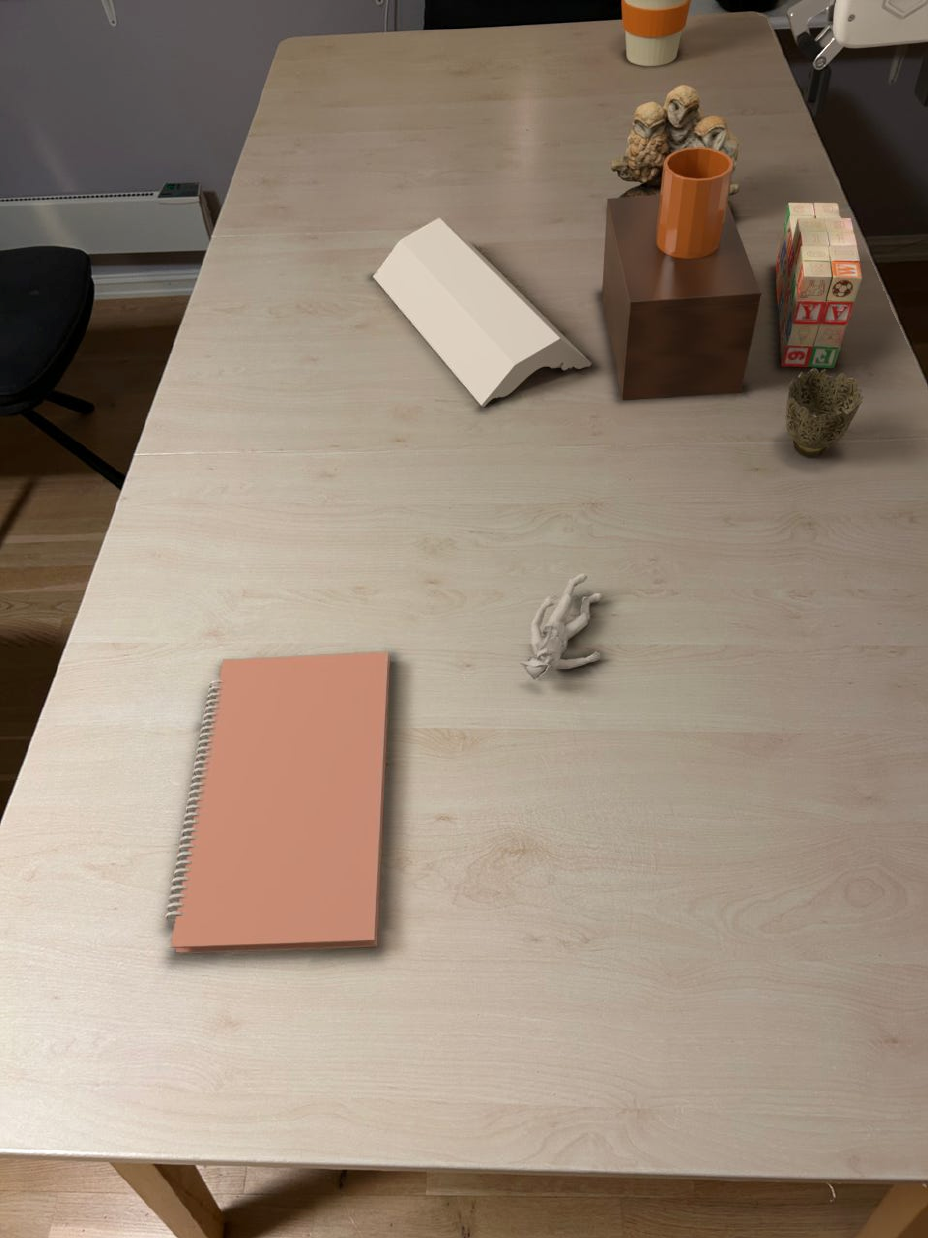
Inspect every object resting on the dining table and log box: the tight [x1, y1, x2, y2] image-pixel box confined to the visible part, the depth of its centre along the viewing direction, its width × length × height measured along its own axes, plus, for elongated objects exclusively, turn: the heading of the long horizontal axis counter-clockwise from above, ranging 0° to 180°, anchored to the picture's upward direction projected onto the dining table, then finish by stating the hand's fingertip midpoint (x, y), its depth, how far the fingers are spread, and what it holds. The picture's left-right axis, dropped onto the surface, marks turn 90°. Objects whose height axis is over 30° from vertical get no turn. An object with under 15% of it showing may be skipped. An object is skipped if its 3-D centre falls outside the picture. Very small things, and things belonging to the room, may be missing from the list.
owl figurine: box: [610, 84, 740, 217], centre depth 129 cm, size 18×12×17 cm, turn 77°
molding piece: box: [372, 217, 593, 408], centre depth 122 cm, size 32×12×10 cm
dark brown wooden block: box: [601, 195, 763, 401], centre depth 112 cm, size 14×22×13 cm, turn 1°
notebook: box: [164, 650, 391, 954], centre depth 80 cm, size 27×17×2 cm, turn 1°
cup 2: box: [785, 367, 864, 458], centre depth 100 cm, size 8×7×8 cm
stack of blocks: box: [775, 202, 863, 369], centre depth 114 cm, size 21×6×12 cm, turn 171°
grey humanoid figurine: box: [519, 572, 603, 681], centre depth 88 cm, size 8×5×12 cm
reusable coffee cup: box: [621, 0, 692, 67], centre depth 163 cm, size 13×13×15 cm
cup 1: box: [656, 147, 734, 259], centre depth 103 cm, size 7×7×9 cm
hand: (868, 104), depth 85 cm, fingers open, 9 cm apart
